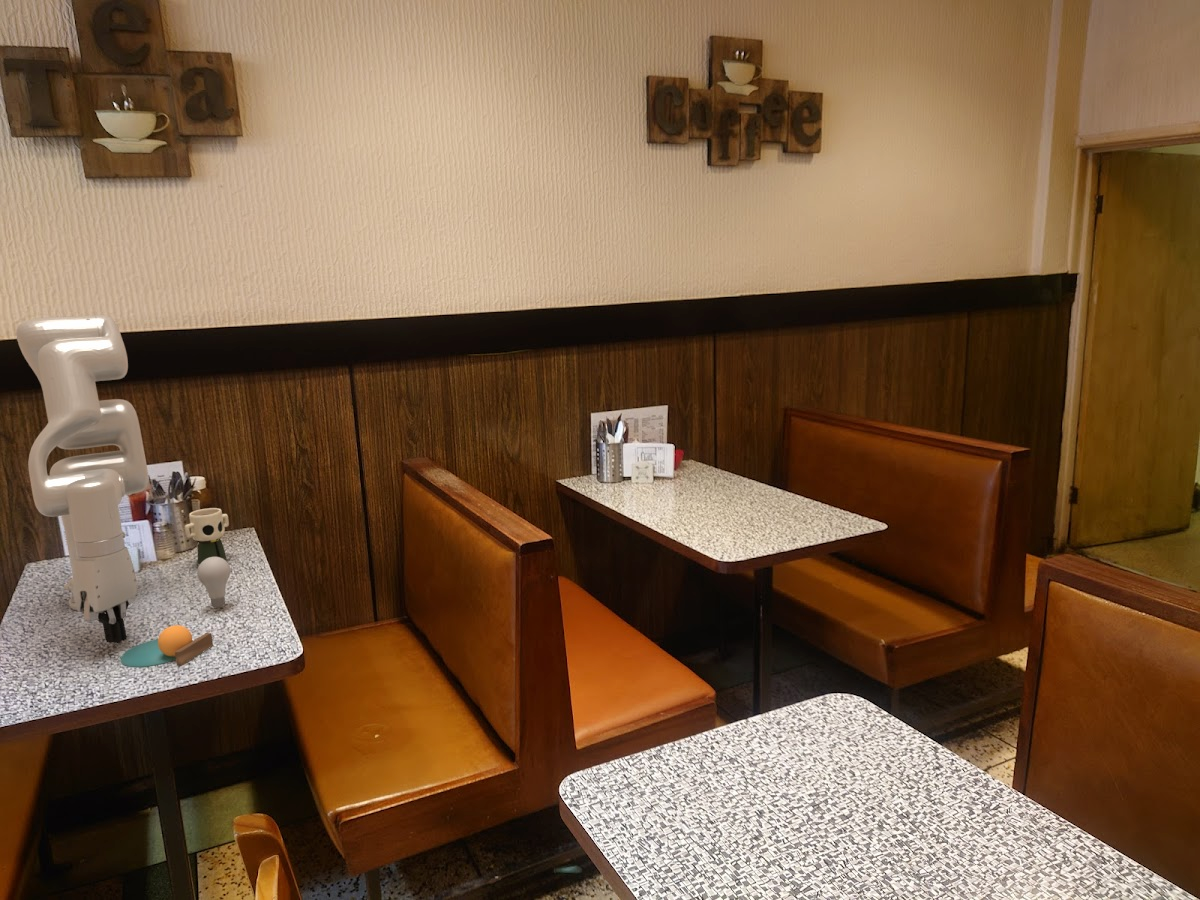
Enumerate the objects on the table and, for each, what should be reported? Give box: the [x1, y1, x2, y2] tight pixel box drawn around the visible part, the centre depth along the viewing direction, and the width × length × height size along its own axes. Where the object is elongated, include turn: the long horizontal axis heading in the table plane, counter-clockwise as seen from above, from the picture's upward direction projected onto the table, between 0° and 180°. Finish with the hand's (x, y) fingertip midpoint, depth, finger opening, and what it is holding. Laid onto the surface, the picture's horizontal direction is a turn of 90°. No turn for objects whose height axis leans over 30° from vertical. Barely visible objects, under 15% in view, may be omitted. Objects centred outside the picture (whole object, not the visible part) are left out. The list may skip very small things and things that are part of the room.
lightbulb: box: [196, 557, 231, 610], centre depth 170 cm, size 6×6×11 cm
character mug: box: [184, 507, 230, 565], centre depth 198 cm, size 11×7×13 cm, turn 147°
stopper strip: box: [175, 632, 214, 666], centre depth 149 cm, size 1×8×2 cm, turn 166°
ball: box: [157, 624, 193, 657], centre depth 149 cm, size 6×6×6 cm
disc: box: [120, 638, 194, 668], centre depth 151 cm, size 12×12×1 cm
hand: (116, 640), depth 153 cm, fingers closed
